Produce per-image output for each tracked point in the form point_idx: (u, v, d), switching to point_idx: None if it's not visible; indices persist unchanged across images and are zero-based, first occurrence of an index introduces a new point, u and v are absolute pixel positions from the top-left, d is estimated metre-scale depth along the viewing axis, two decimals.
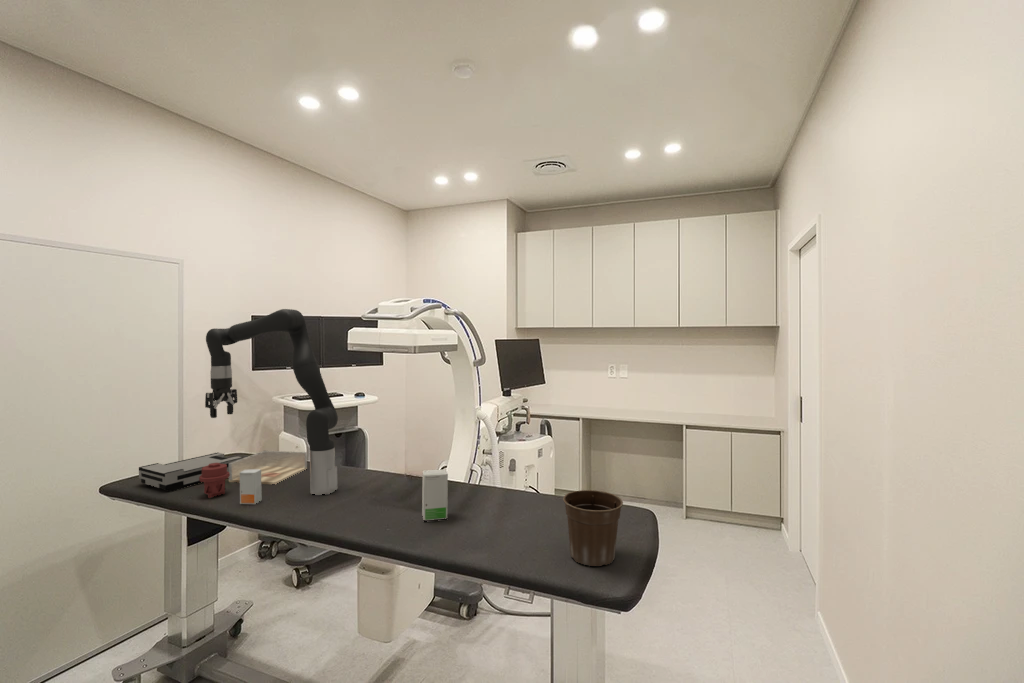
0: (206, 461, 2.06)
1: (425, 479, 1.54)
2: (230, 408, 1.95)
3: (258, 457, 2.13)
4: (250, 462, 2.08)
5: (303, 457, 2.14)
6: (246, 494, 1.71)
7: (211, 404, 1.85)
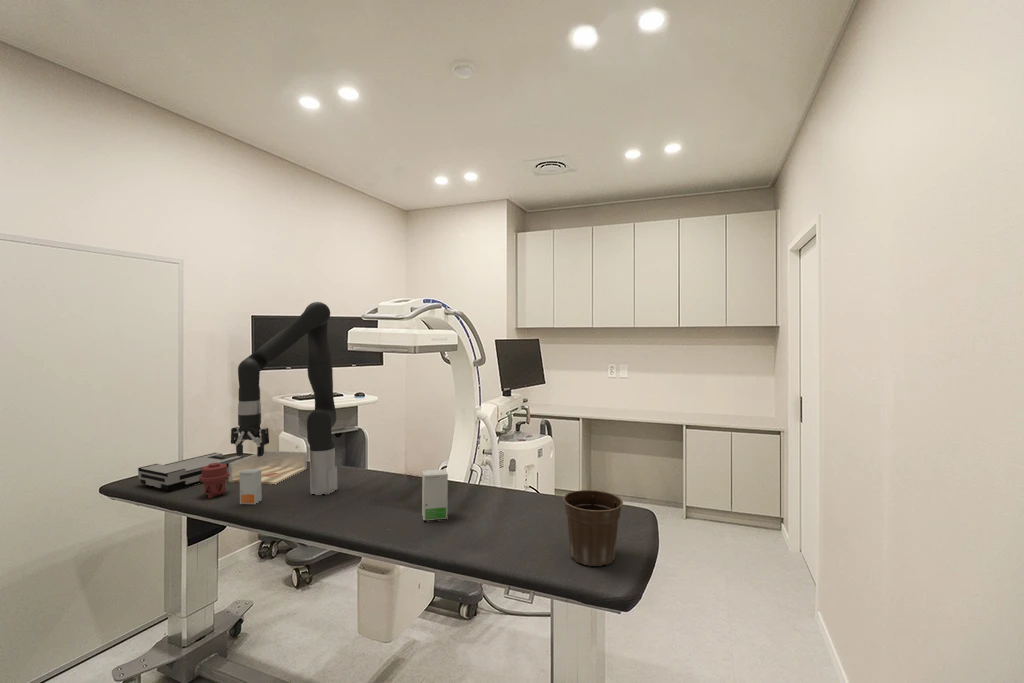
0: (206, 461, 2.06)
1: (425, 479, 1.54)
2: (241, 448, 1.74)
3: (258, 457, 2.13)
4: (250, 462, 2.08)
5: (303, 457, 2.14)
6: (246, 494, 1.71)
7: None
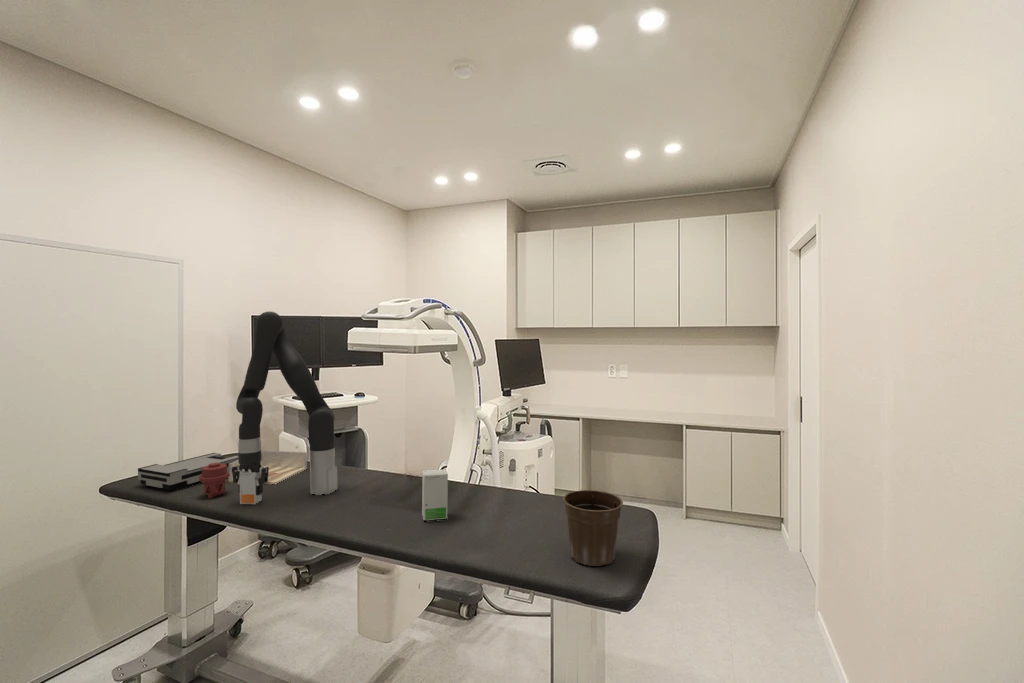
0: (206, 461, 2.06)
1: (425, 479, 1.54)
2: None
3: None
4: None
5: (303, 457, 2.14)
6: (246, 494, 1.71)
7: None
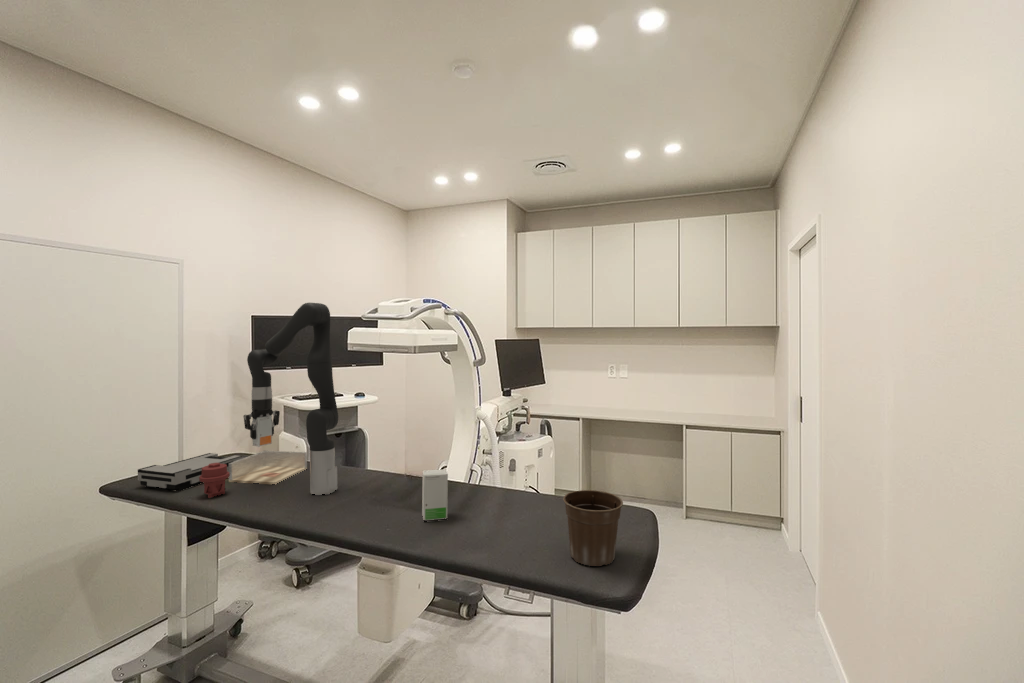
0: (205, 461, 2.06)
1: (425, 479, 1.54)
2: None
3: (258, 457, 2.13)
4: (250, 462, 2.08)
5: (303, 457, 2.14)
6: (264, 436, 1.91)
7: None
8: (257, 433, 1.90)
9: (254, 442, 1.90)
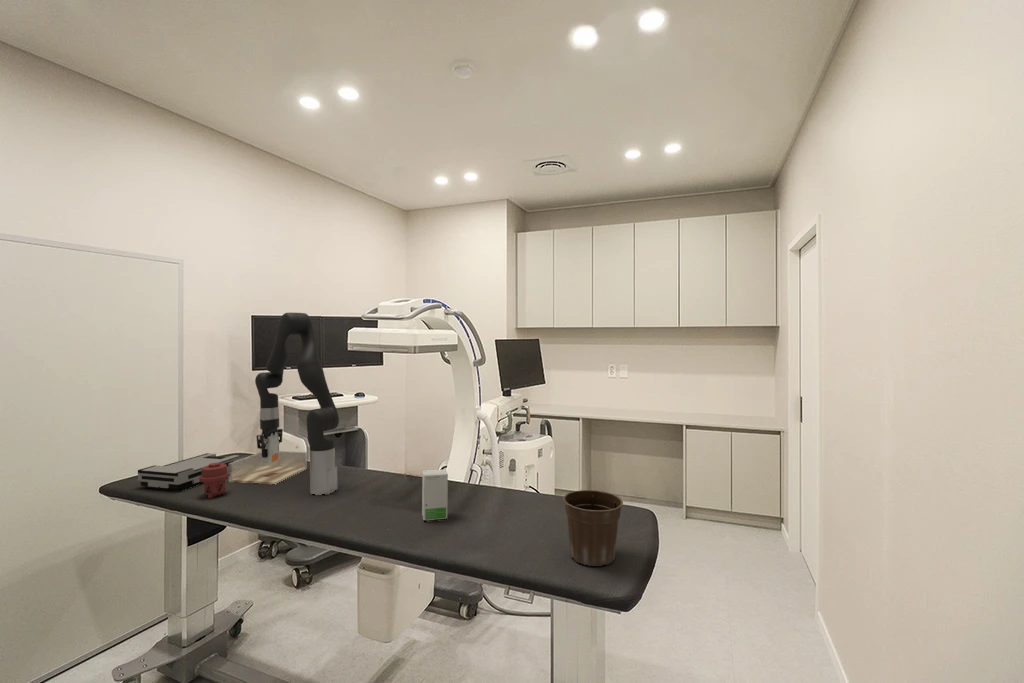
0: (205, 461, 2.06)
1: (425, 479, 1.54)
2: None
3: (258, 457, 2.13)
4: (250, 462, 2.08)
5: (303, 457, 2.14)
6: (274, 453, 2.03)
7: None
8: (269, 451, 2.01)
9: (264, 460, 2.01)
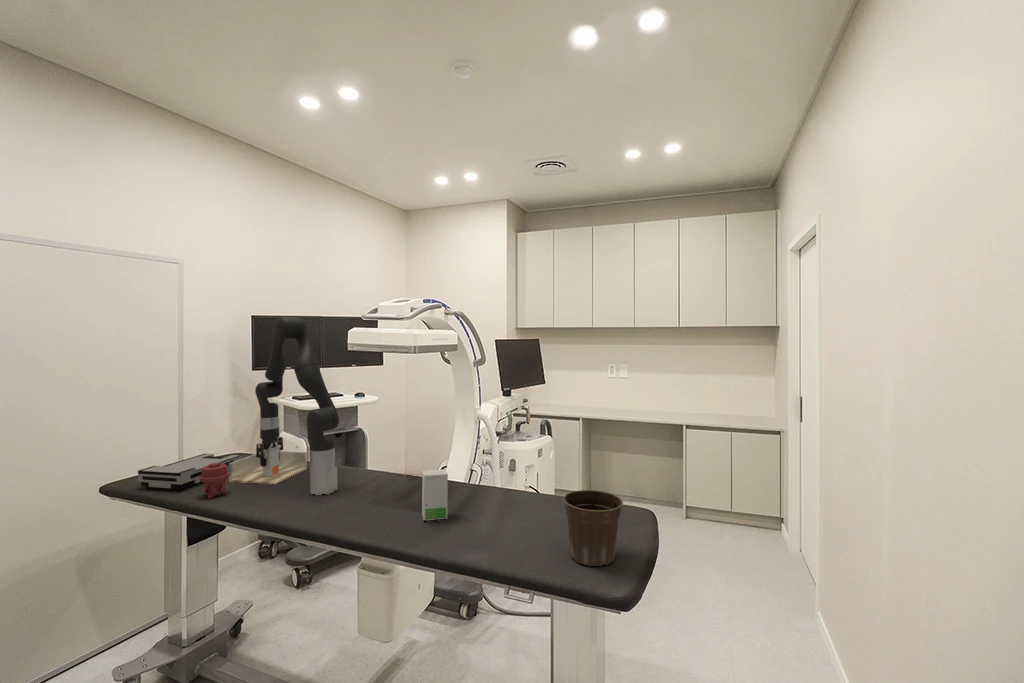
0: (205, 461, 2.06)
1: (425, 479, 1.54)
2: None
3: None
4: (250, 462, 2.08)
5: (303, 457, 2.14)
6: (275, 466, 2.04)
7: None
8: (269, 463, 2.01)
9: (265, 472, 2.01)
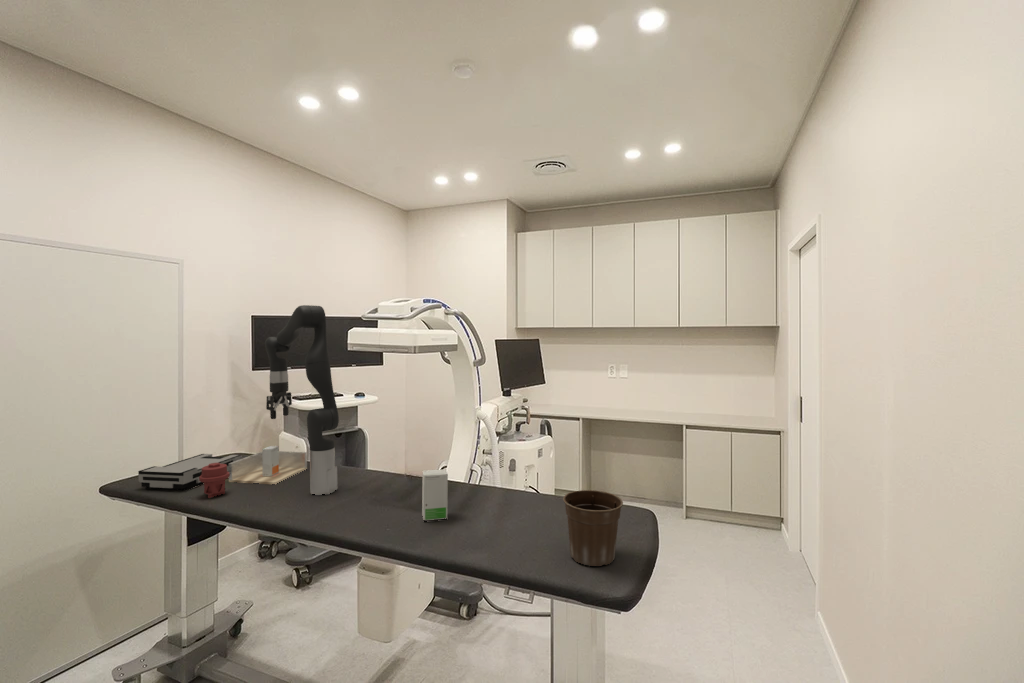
0: (205, 461, 2.06)
1: (425, 479, 1.54)
2: None
3: (258, 457, 2.13)
4: (250, 462, 2.08)
5: (303, 457, 2.14)
6: (275, 466, 2.04)
7: None
8: (269, 463, 2.01)
9: (265, 472, 2.01)
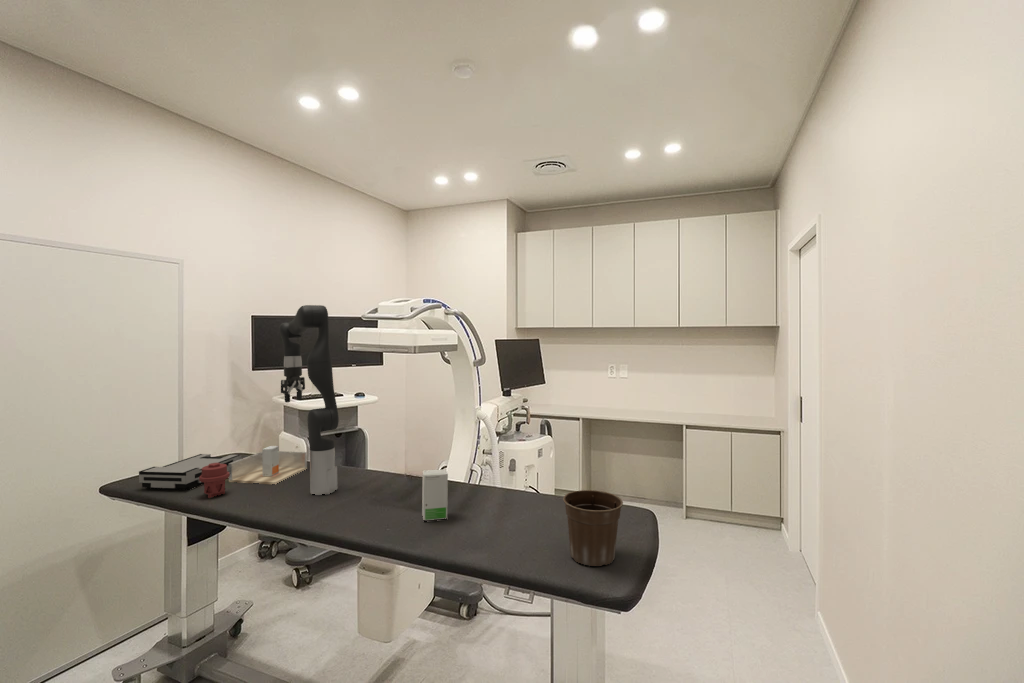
0: (204, 461, 2.06)
1: (425, 479, 1.54)
2: None
3: (258, 457, 2.13)
4: (250, 462, 2.08)
5: (303, 457, 2.14)
6: (275, 466, 2.04)
7: None
8: (269, 463, 2.01)
9: (265, 472, 2.01)
